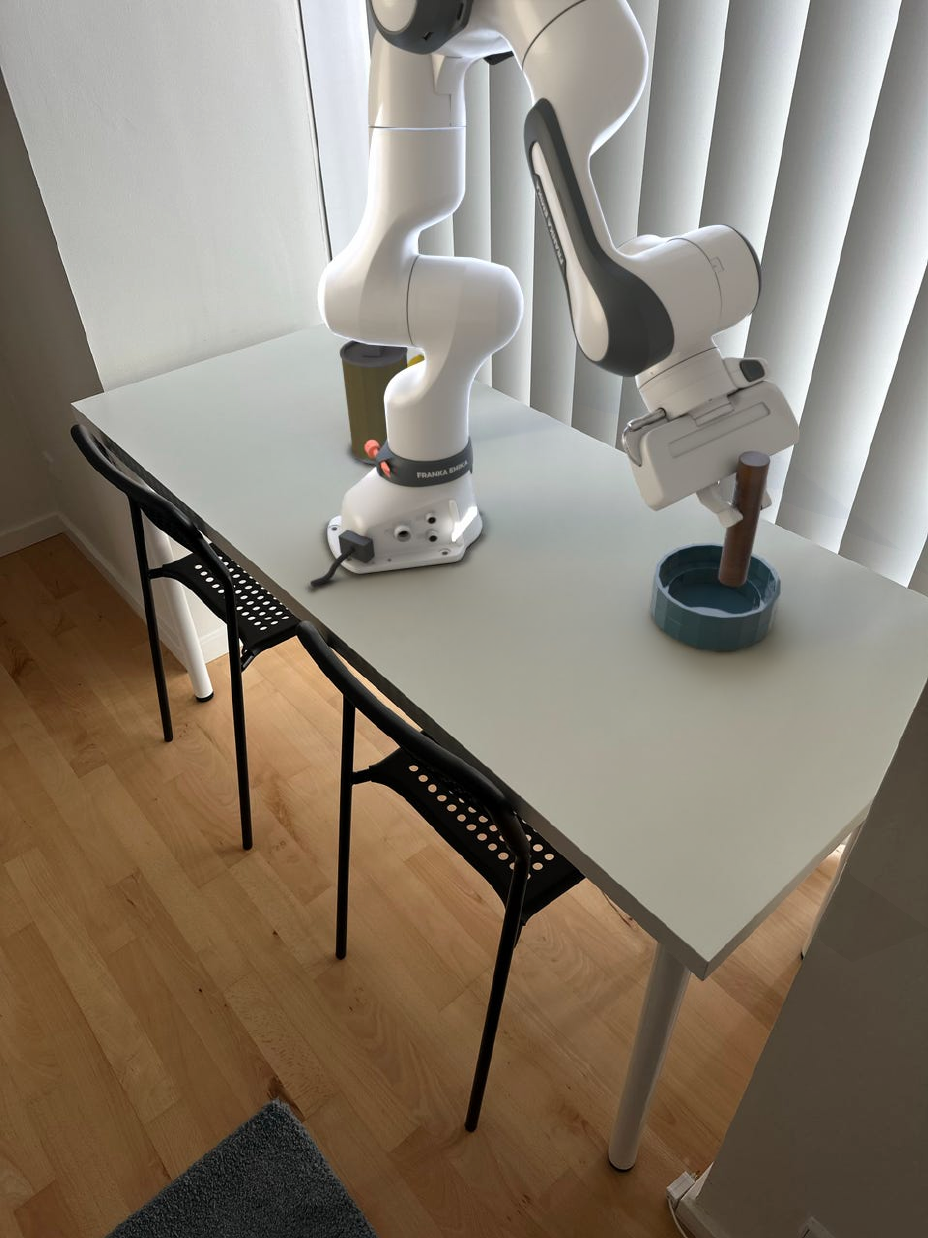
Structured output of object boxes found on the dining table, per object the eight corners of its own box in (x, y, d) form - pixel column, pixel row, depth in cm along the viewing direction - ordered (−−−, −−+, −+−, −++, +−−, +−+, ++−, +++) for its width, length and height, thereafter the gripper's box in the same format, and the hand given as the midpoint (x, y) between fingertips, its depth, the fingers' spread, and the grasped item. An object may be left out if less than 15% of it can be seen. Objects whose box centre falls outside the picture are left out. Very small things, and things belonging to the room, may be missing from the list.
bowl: (690, 668, 114) (696, 630, 110) (629, 596, 125) (632, 559, 121) (796, 636, 118) (806, 598, 114) (728, 568, 129) (735, 532, 125)
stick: (727, 589, 102) (750, 469, 92) (712, 573, 104) (733, 454, 94) (751, 582, 102) (776, 462, 93) (736, 567, 105) (759, 448, 95)
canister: (406, 467, 152) (397, 348, 139) (344, 463, 153) (329, 345, 141) (420, 434, 160) (413, 319, 147) (361, 430, 162) (348, 316, 149)
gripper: (633, 415, 90) (696, 546, 90) (777, 354, 99) (834, 474, 99) (598, 438, 96) (658, 561, 96) (737, 379, 104) (792, 492, 105)
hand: (748, 516), depth 97 cm, fingers closed on stick, 3 cm apart
